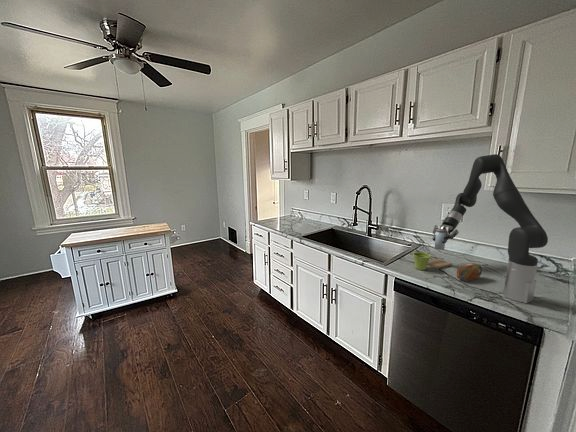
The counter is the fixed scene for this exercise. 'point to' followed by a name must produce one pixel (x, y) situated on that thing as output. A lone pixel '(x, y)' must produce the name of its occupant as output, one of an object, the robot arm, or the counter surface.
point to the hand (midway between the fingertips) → (438, 241)
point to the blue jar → (440, 238)
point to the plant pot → (421, 260)
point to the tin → (469, 272)
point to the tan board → (439, 263)
